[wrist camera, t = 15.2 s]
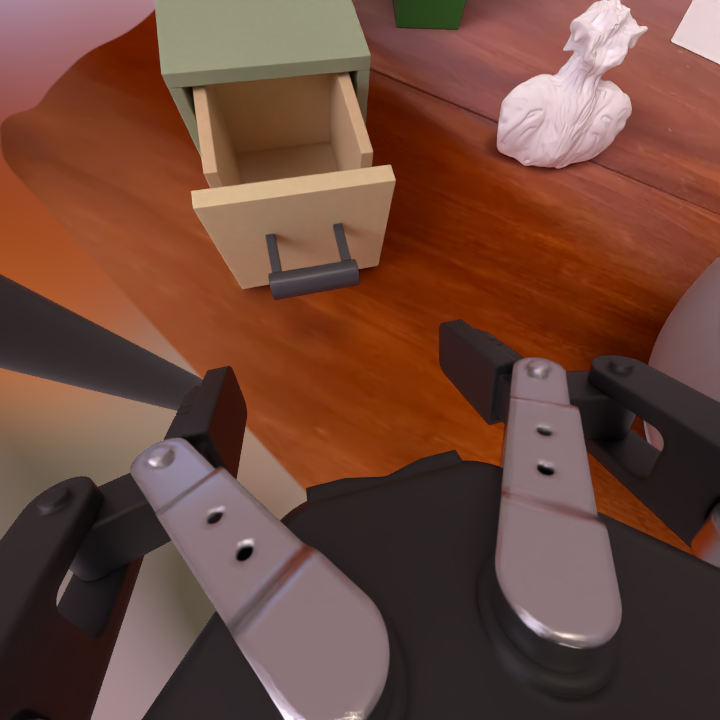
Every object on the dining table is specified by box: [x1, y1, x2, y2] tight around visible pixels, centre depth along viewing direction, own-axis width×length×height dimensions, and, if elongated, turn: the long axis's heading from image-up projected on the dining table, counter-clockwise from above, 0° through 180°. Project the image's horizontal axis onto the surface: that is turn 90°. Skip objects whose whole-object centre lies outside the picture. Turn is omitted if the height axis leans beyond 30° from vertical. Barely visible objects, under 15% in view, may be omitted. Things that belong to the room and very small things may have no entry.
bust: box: [497, 0, 648, 169], centre depth 29 cm, size 12×8×11 cm
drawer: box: [191, 72, 396, 300], centre depth 23 cm, size 18×11×9 cm, turn 13°
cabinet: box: [155, 0, 371, 156], centre depth 26 cm, size 15×13×11 cm
